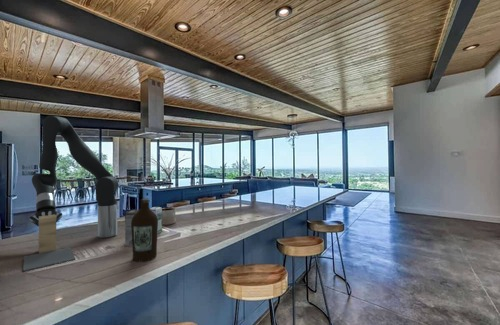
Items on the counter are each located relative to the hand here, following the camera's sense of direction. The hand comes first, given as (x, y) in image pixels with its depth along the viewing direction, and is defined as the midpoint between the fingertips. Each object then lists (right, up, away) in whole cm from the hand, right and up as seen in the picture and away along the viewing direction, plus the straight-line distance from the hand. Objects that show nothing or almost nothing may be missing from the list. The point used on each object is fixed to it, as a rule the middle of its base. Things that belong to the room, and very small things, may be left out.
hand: (47, 231), depth 114 cm
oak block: (+3, -8, -3) cm, 9 cm away
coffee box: (+38, -8, +8) cm, 40 cm away
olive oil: (+52, -8, -11) cm, 54 cm away
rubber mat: (+12, -8, -12) cm, 19 cm away
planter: (+41, -8, +47) cm, 63 cm away
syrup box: (+42, -8, +26) cm, 50 cm away
